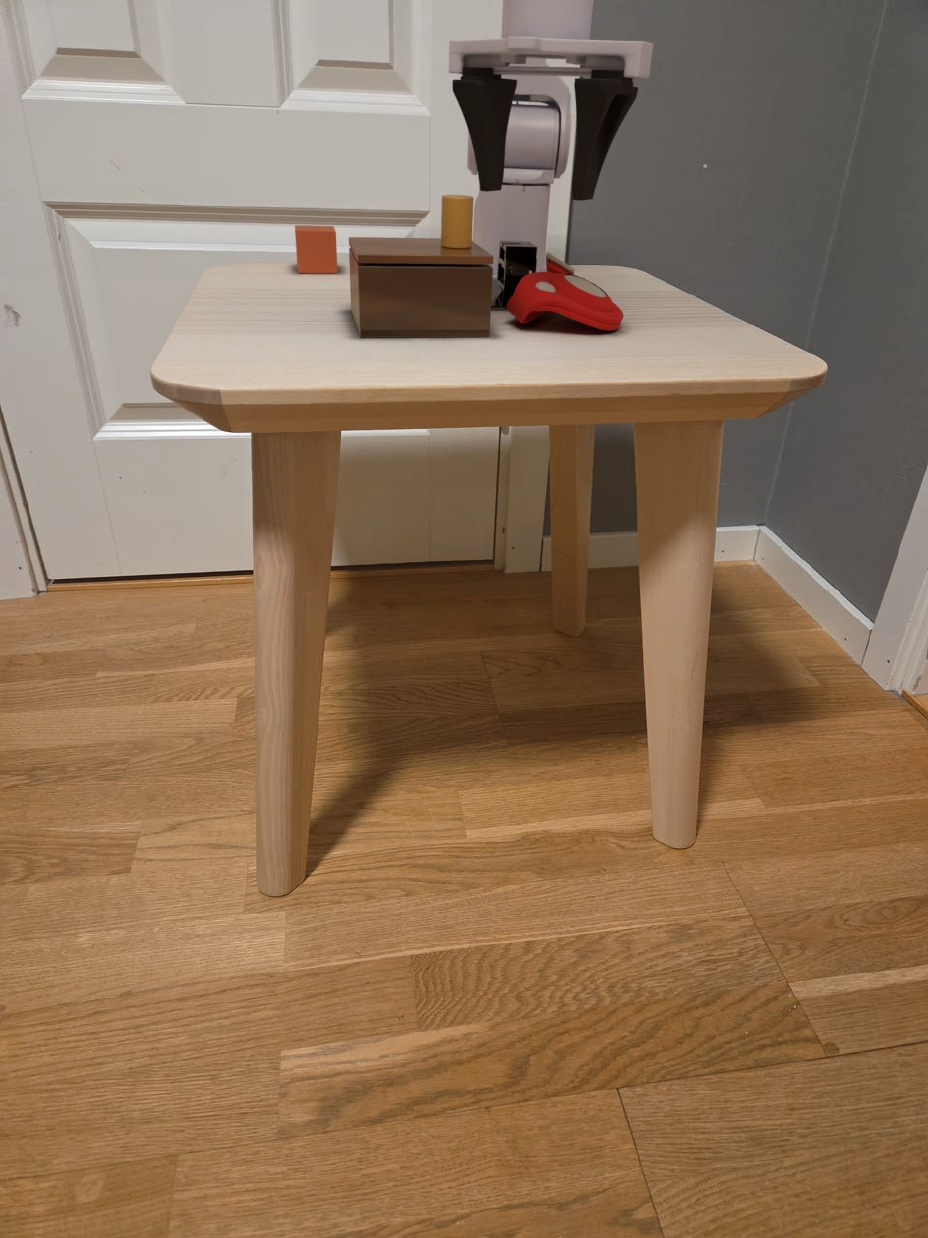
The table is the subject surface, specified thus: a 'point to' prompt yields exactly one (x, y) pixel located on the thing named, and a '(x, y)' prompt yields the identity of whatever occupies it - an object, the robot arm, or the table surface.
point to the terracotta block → (316, 249)
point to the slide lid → (429, 241)
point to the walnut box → (420, 299)
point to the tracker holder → (563, 297)
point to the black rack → (511, 270)
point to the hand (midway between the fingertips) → (535, 194)
